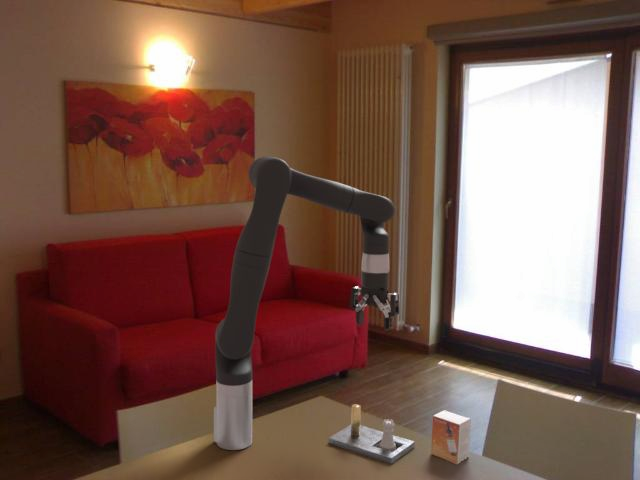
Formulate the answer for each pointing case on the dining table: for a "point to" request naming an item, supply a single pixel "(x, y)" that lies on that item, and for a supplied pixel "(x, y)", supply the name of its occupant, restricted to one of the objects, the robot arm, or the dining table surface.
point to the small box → (450, 436)
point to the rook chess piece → (388, 436)
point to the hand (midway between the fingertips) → (373, 327)
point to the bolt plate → (368, 440)
